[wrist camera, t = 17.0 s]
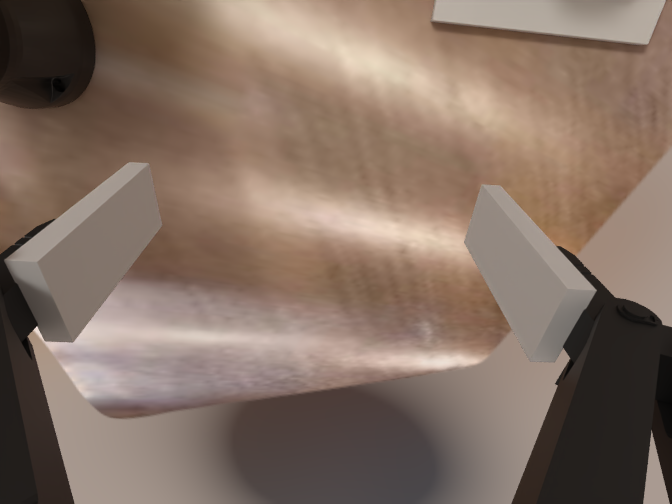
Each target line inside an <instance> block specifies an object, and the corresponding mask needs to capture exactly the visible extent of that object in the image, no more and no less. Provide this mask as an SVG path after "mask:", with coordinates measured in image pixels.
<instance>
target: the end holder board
mask: <svg viewBox="0 0 672 504" xmlns="http://www.w3.org/2000/svg"><path fill="white" fill-rule="evenodd" d="M665 1H666V0H435V1H434V6H433V12H432V17H431V22H438V23H447V24H456V25H465V26H473V27H482V28H491V29H500V30H509V31H518V32H526V33H535V34H544V35H553V36H562V37H571V38H580V39H588V40H597V41H606V42H615V43H624V44H633V45H647V44H648V43H649V40H650V38H651V36H652V33H653V31H654V28H655V26H656V23H657V21H658V18H659V16H660V14H661V11H662V9H663V6H664V4H665Z"/></svg>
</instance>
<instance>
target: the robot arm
mask: <svg viewBox="0 0 672 504" xmlns="http://www.w3.org/2000/svg"><path fill="white" fill-rule="evenodd" d="M94 63H95V44H94V37H93V32H92V28H91V24H90V21H89V18H88V16H87V13H86V11H85V9H84V7H83V4H82V2H81V1H80V0H0V102H3V103H6V104H10V105H13V106H17V107H22V108H29V109H42V108H52V107H59V106H63V105H66V104H68V103H70V102H72V101H73V100H75V99H76V98H77V97H79V96H80V95H81V94H82V92H83V91H84V90H85V88H86V87H87V85H88V83H89V81H90V79H91V76H92V73H93V69H94ZM161 226H162V221H161V217H160V212H159V207H158V202H157V198H156V193H155V188H154V184H153V179H152V174H151V169H150V165H149V163H136V162H128V163H127V164H126V165H125V166H123V167H122V168H121V169H119V170H118V171H117V172H116V173H114V174H113V175H112V176H111V177H109V178H108V179H107V180H105V181H104V182H103V183H102V184H100V185H99V186H98V187H97V188H95V189H94V190H93V191H91V192H90V193H89V194H88V195H86V196H85V197H84V198H83V199H81V200H80V201H79V202H77V203H76V204H75V205H74V206H72V207H71V208H70V209H69V210H67V211H66V212H65V213H63V214H62V215H61V216H60V217H58V218H57V219H53V220H50V221H48V222H46V223H44V224H41V225H39V226H37V227H36V228H34V229H33V230H32V231H30V232H29V233H28V234H26V235H25V238H21V239H20V240H18V241H17V242H16V243H15V245H12V246H10V247H9V248H8V249H7V250H5V251H4V252H3V253H1V254H0V504H74V500H73V496H72V493H71V489H70V485H69V481H68V478H67V474H66V470H65V467H64V463H63V459H62V455H61V451H60V448H59V444H58V440H57V436H56V433H55V429H54V425H53V421H52V418H51V414H50V411H49V406H48V403H47V399H46V395H45V391H44V388H43V384H42V380H41V376H40V373H39V369H38V365H37V361H36V358H35V354H34V350H33V347H32V344H31V343H30V340H29V338H28V337H27V336H28V335H29V334H30V333H31V332H32V331H33V330H34V329H35V327H36V326H37V327H38V329H39V331H40V333H41V334H42V336H43V338H44V340H45V341H51V342H74V341H75V339H76V338H77V337H78V335H79V334H80V333H81V332H82V330H83V329H84V328H85V326H86V325H87V324H88V322H89V321H90V320H91V318H92V317H93V316H94V314H95V313H96V312H97V311H98V309H99V308H100V307H101V305H102V304H103V303H104V301H105V300H106V299H107V297H108V296H109V295H110V293H111V292H112V291H113V290H114V288H115V287H116V286H117V284H118V283H119V282H120V280H121V279H122V278H123V276H124V275H125V274H126V272H127V271H128V270H129V269H130V267H131V266H132V265H133V263H134V262H135V261H136V259H137V258H138V257H139V255H140V254H141V253H142V251H143V250H144V249H145V247H146V246H147V245H148V244H149V242H150V241H151V240H152V238H153V237H154V236H155V234H156V233H157V232H158V230H159V229H160V228H161ZM464 243H465V245H466V247H467V249H468V250H469V252H470V254H471V256H472V258H473V260H474V261H475V263H476V265H477V267H478V269H479V270H480V272H481V274H482V276H483V278H484V280H485V281H486V283H487V285H488V287H489V289H490V290H491V292H492V294H493V296H494V298H495V299H496V301H497V303H498V305H499V307H500V309H501V310H502V312H503V314H504V316H505V318H506V319H507V321H508V323H509V325H510V327H511V329H512V330H513V332H514V334H515V336H516V337H517V339H518V341H519V343H520V345H521V347H522V349H523V350H524V352H525V354H526V356H527V358H528V359H529V361H532V362H555V361H556V359H557V358H558V356H559V354H560V353H561V351H562V349H563V348H564V349H565V351H566V352H567V354H568V355H569V357H570V360H569V362H568V363H567V365H566V367H565V368H564V370H563V371H562V373H561V375H560V376H559V378H558V380H557V381H556V383H555V384H556V385H558V387H557V389H556V392H555V394H554V397H553V400H552V402H551V404H550V407H549V410H548V412H547V415H546V417H545V420H544V422H543V425H542V428H541V430H540V433H539V435H538V438H537V440H536V443H535V445H534V448H533V450H532V453H531V456H530V458H529V460H528V463H527V466H526V468H525V471H524V473H523V476H522V478H521V481H520V483H519V486H518V489H517V491H516V494H515V496H514V499H513V501H512V504H643V499H644V491H645V482H646V473H647V465H648V456H649V447H650V438H651V429H652V433H653V437H654V441H655V445H656V449H657V453H658V457H659V462H660V465H661V469H662V474H663V478H664V481H665V486H666V490H667V493H668V498H669V502H670V504H672V327H669V326H665V325H662V321H661V320H660V319H659V318H658V317H657V315H655V314H654V313H653V312H652V311H650V310H649V309H648V308H646V307H644V306H642V305H640V304H638V303H636V302H633V301H630V300H626V299H620V298H615V297H614V296H613V295H612V294H611V293H610V292H609V291H608V290H607V288H605V286H604V285H603V284H601V282H600V281H599V280H598V279H597V278H596V277H595V276H594V275H591V272H590V271H589V270H588V269H587V268H586V267H584V265H583V264H582V262H580V260H579V259H578V258H577V257H576V256H575V255H573V254H572V253H570V252H569V251H567V250H565V249H564V248H562V247H561V246H555V245H554V244H553V242H552V241H551V240H550V239H549V238H548V237H547V236H546V235H545V234H544V233H543V232H542V230H541V229H540V228H539V227H538V226H537V225H536V224H535V223H534V222H533V221H532V220H531V219H530V217H529V216H528V215H527V214H526V213H525V212H524V211H523V210H522V209H521V208H520V207H519V205H518V204H517V203H516V202H515V201H514V200H513V199H512V198H511V197H510V196H509V195H508V193H507V192H506V191H505V190H504V189H503V188H502V187H501V186H498V185H481V188H480V192H479V195H478V198H477V202H476V205H475V208H474V211H473V215H472V218H471V221H470V224H469V228H468V231H467V234H466V238H465V241H464Z"/></svg>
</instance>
